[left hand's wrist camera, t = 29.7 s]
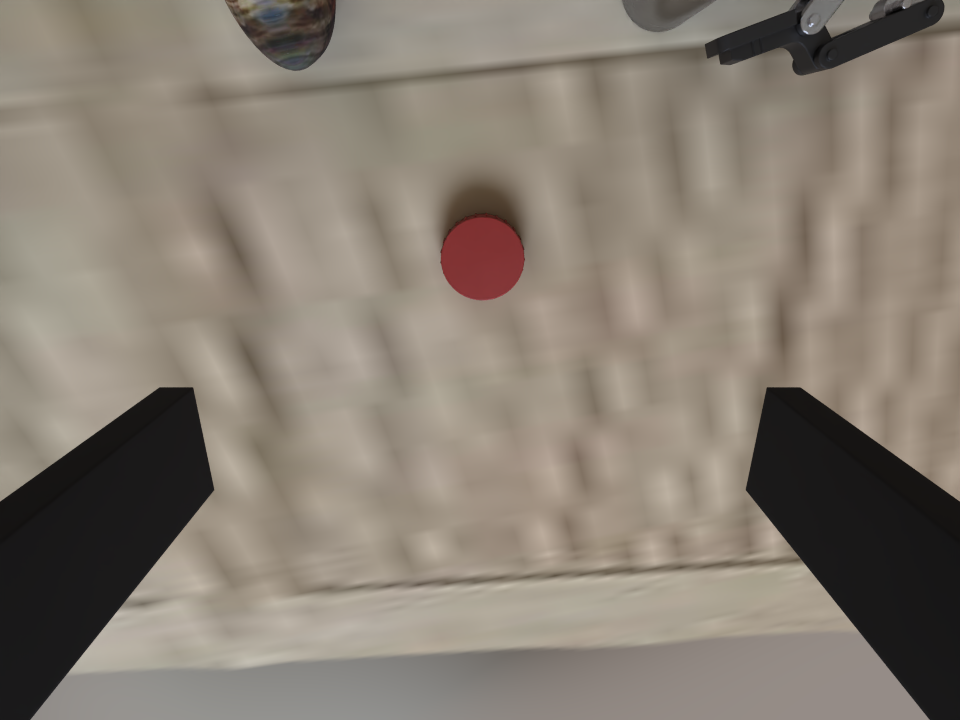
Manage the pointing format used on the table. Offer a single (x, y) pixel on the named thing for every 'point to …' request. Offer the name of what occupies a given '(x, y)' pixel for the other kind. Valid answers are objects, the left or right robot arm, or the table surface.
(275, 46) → the seashell
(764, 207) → the table surface
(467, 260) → the lid
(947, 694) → the left robot arm
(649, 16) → the jar
